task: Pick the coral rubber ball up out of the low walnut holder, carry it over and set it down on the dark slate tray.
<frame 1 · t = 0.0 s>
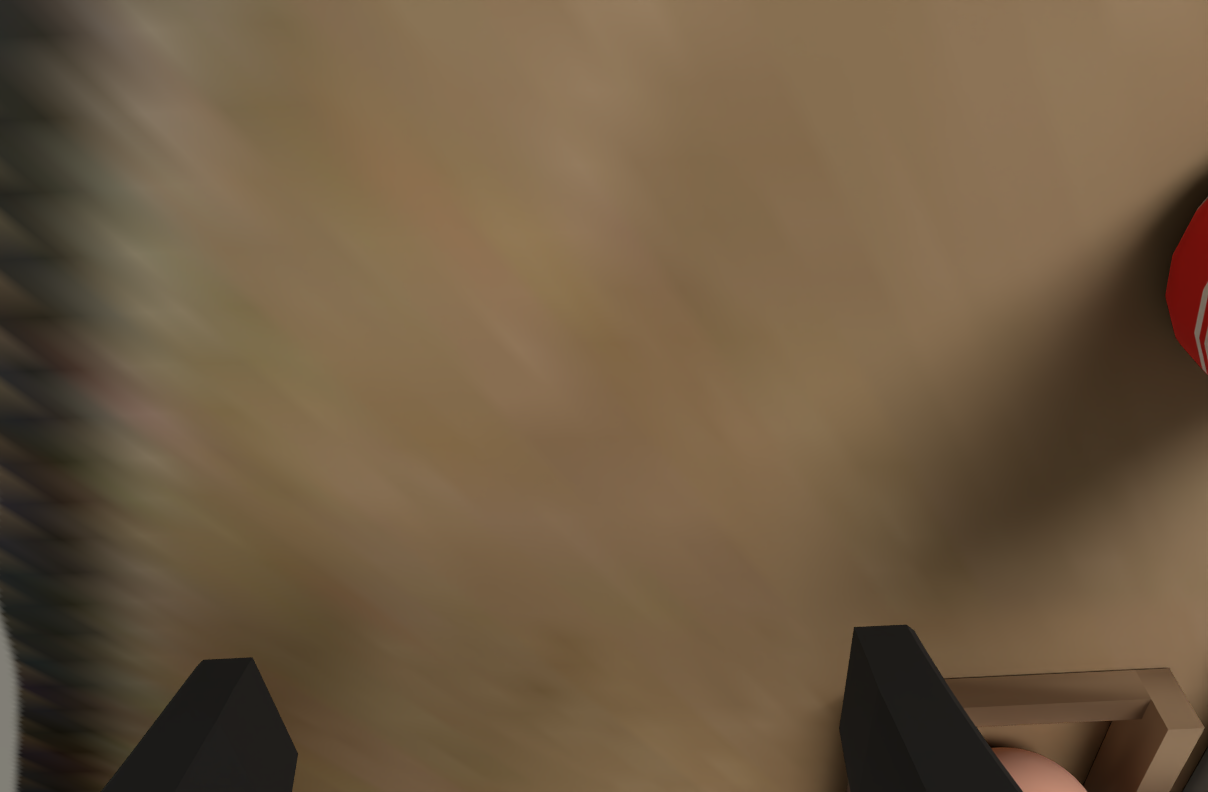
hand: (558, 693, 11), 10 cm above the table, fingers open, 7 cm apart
holder: (988, 759, 30), on the table
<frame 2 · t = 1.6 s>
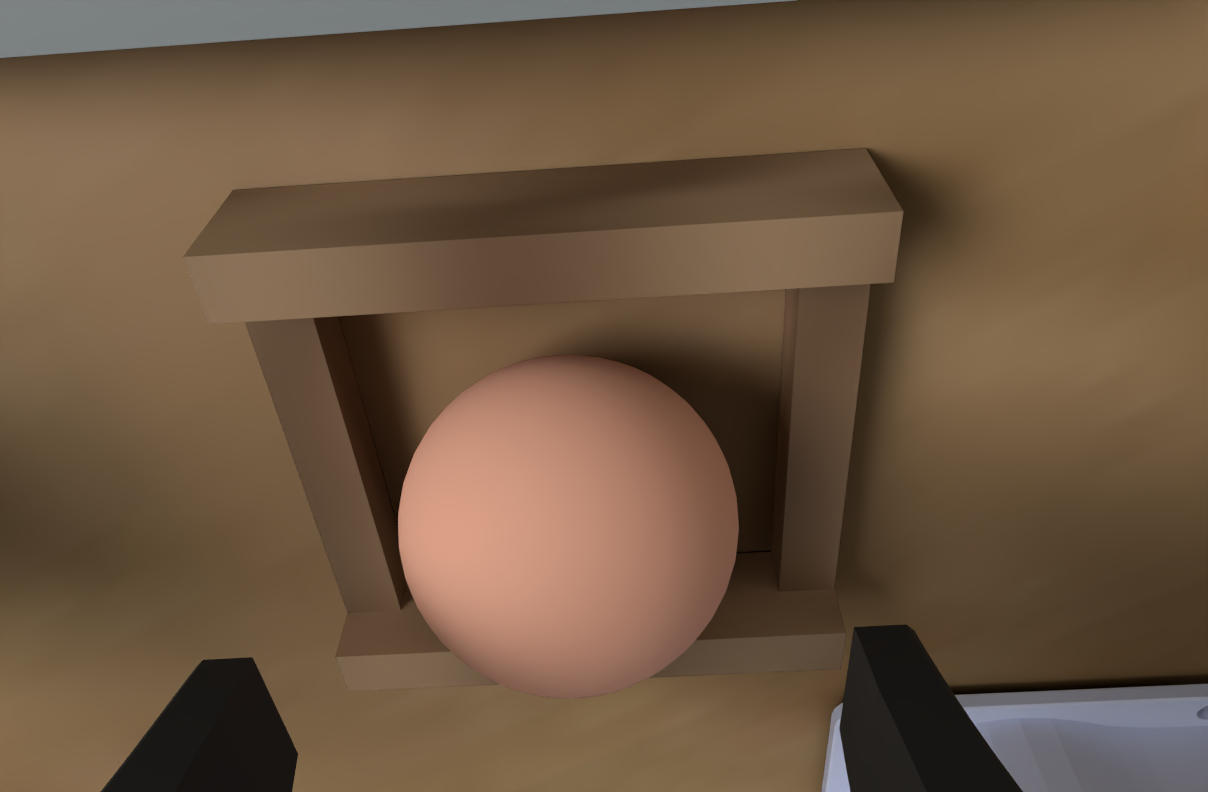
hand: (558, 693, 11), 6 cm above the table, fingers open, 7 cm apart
holder: (573, 418, 16), on the table
ball: (569, 522, 14), point 2 cm above the table
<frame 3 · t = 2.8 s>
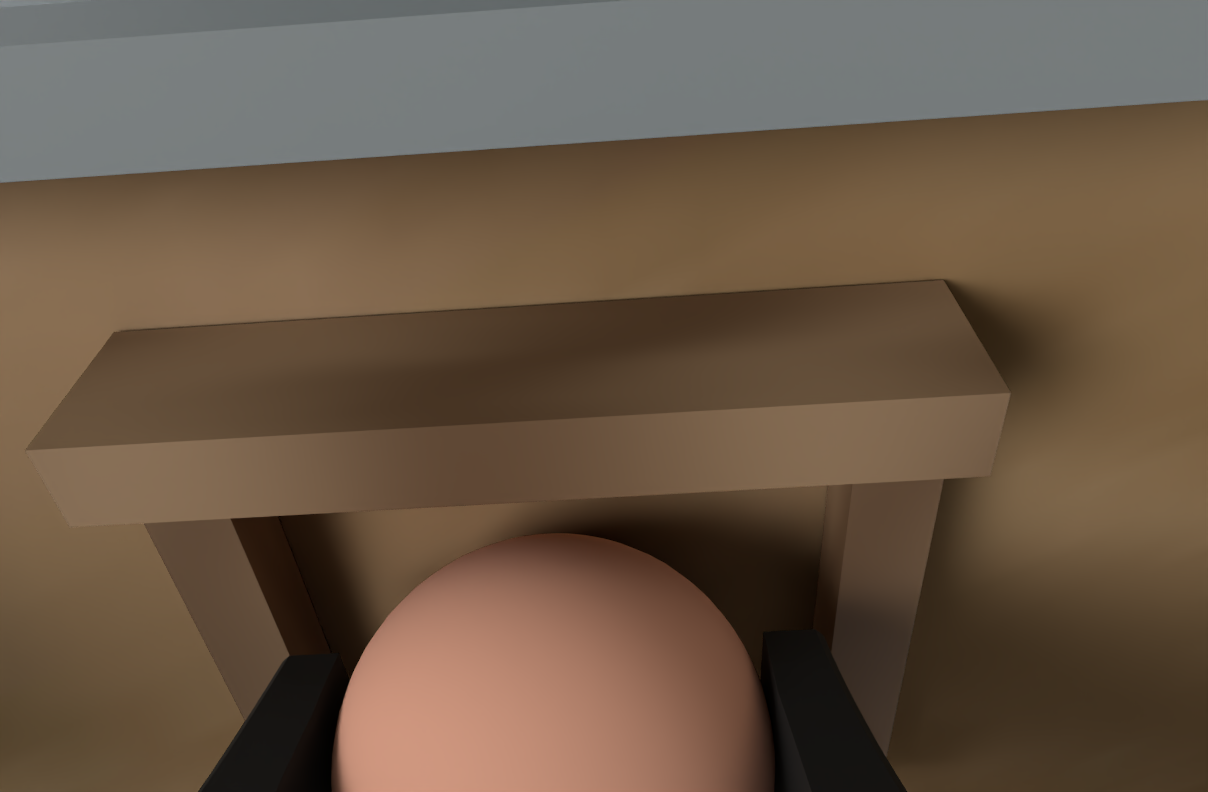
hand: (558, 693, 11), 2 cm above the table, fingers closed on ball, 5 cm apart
holder: (562, 586, 13), on the table
ball: (555, 751, 11), point 2 cm above the table, touching gripper
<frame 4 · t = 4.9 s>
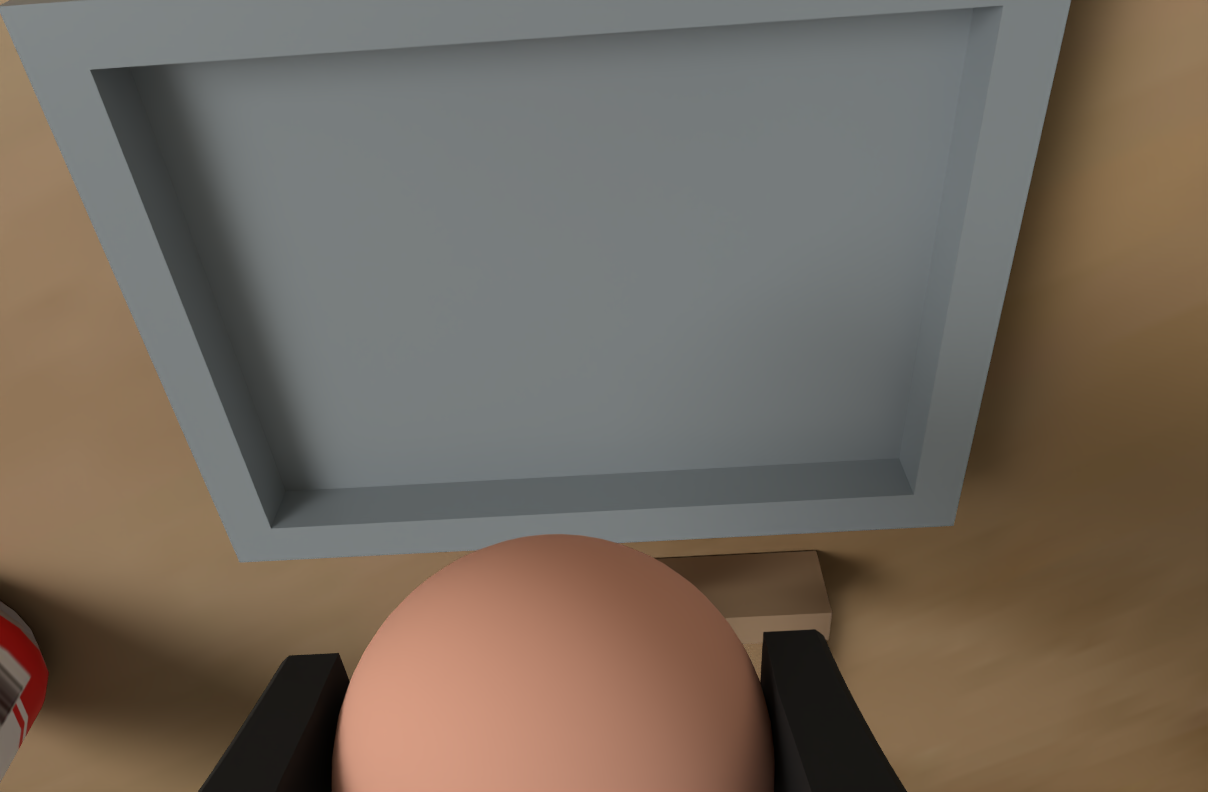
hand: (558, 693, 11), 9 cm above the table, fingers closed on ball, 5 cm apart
tray: (570, 268, 19), on the table
holder: (645, 669, 26), on the table
ball: (555, 752, 11), point 10 cm above the table, touching gripper
when the fingers open (3 cm above the table, at t = 7.1 s): ball stays where it is, resting on tray.
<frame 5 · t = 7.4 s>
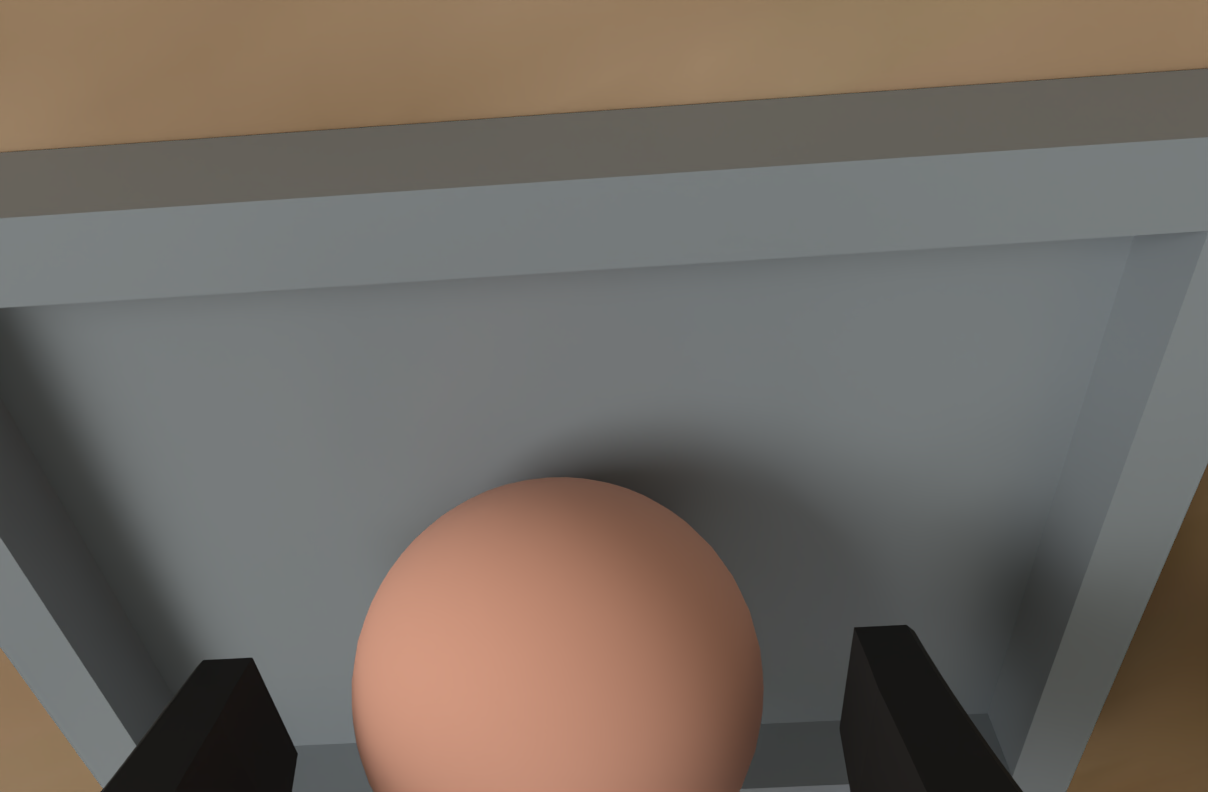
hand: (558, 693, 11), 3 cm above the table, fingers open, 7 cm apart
tray: (565, 505, 14), on the table
ball: (559, 678, 12), point 3 cm above the table, touching tray
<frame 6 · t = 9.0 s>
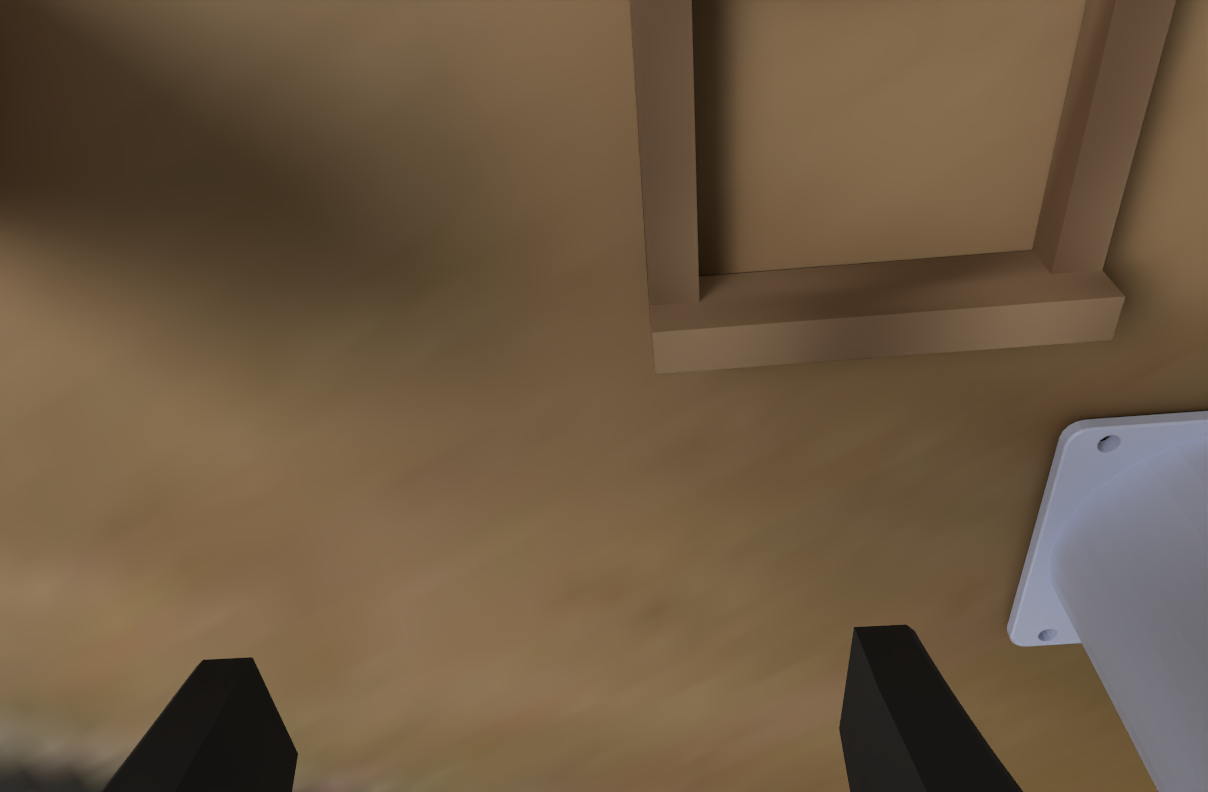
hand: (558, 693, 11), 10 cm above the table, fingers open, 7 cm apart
holder: (878, 98, 17), on the table
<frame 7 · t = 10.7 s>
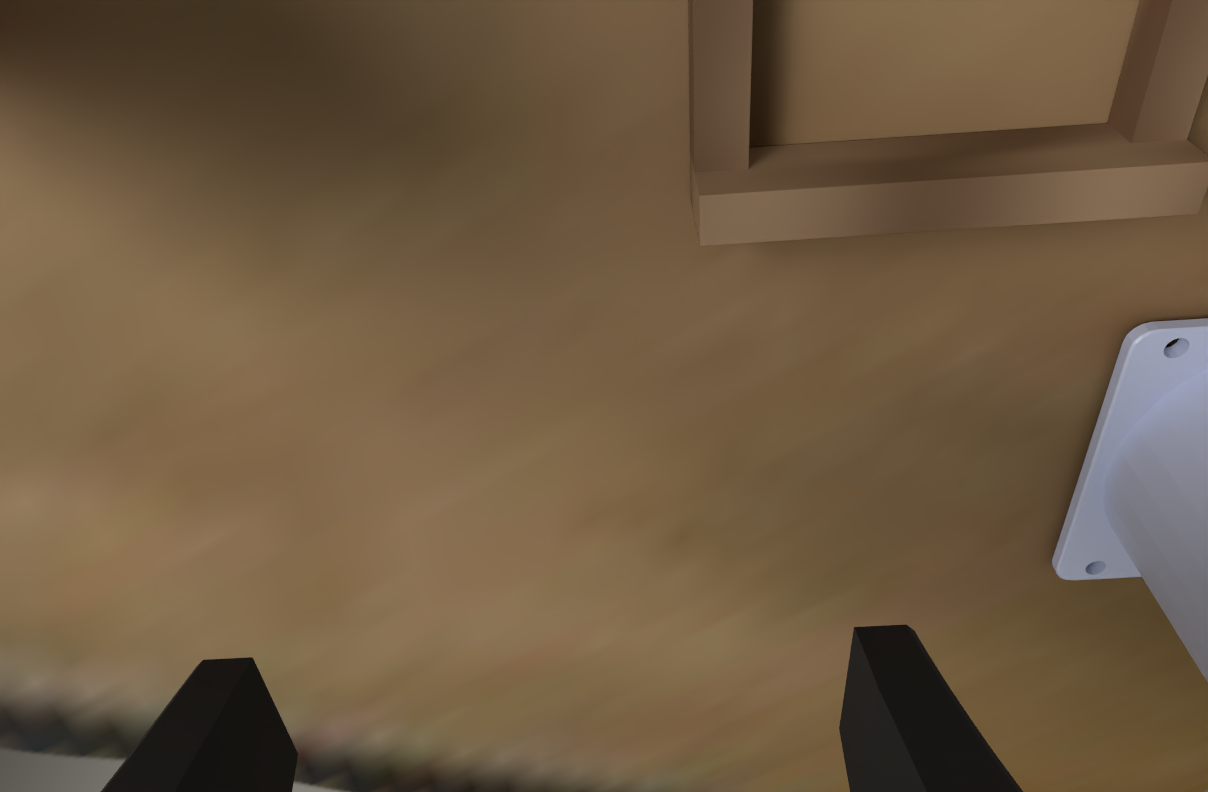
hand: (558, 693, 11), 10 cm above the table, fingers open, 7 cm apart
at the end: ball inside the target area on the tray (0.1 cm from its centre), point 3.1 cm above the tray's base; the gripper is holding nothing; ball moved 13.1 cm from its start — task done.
